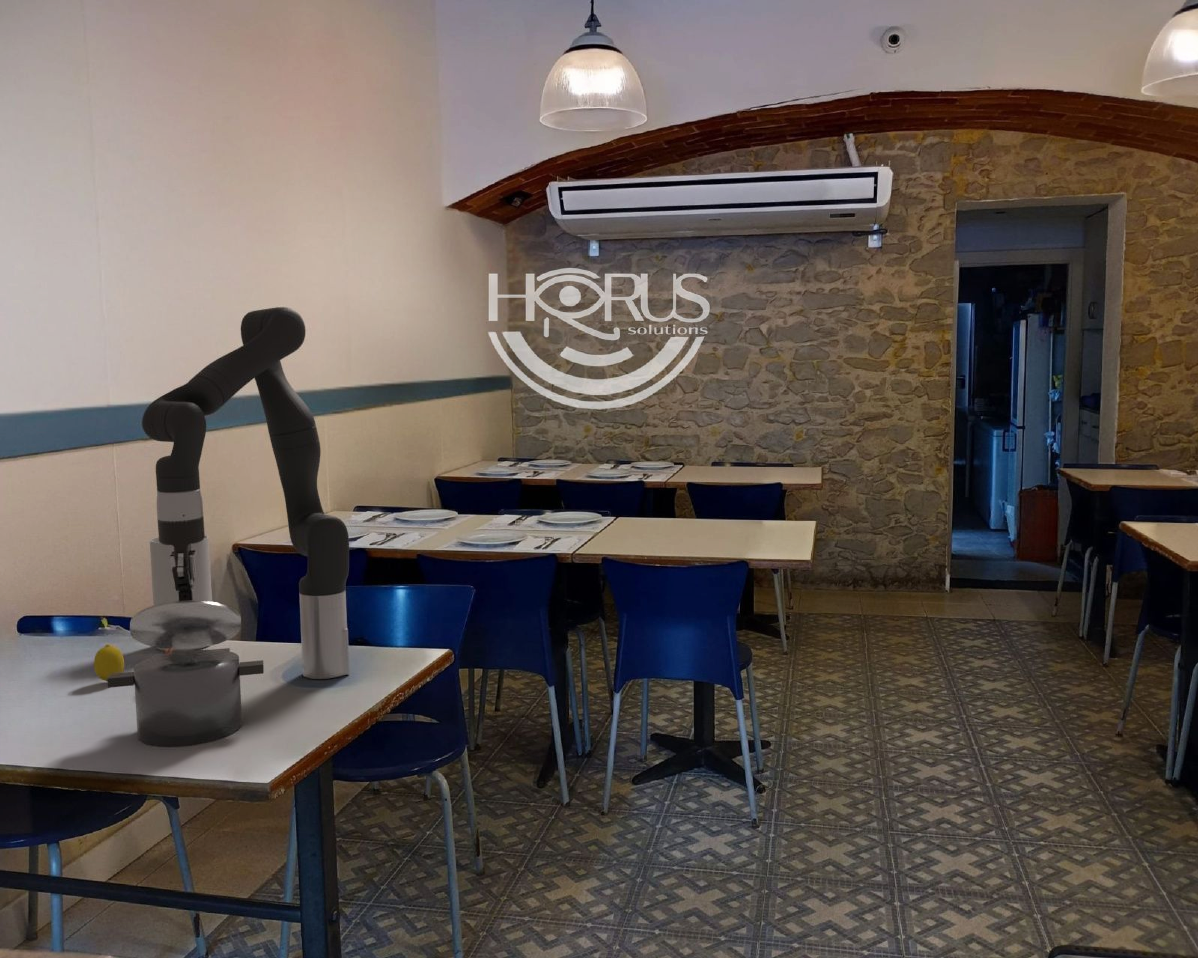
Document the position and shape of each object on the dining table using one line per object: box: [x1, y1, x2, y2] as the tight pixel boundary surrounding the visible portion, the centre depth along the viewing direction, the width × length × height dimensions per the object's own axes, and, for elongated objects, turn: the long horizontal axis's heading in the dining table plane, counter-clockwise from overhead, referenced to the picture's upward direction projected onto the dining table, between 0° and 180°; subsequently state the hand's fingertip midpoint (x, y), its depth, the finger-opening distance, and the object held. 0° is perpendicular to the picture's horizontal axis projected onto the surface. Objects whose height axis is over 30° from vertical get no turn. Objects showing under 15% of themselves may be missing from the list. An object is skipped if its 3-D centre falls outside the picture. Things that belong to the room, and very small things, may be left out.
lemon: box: [93, 643, 125, 683], centre depth 209 cm, size 6×6×8 cm
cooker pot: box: [107, 647, 265, 748], centre depth 181 cm, size 25×18×12 cm
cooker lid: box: [129, 600, 242, 649], centre depth 181 cm, size 18×18×4 cm
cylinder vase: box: [149, 534, 213, 653], centre depth 238 cm, size 12×12×25 cm
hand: (186, 610), depth 184 cm, fingers closed
